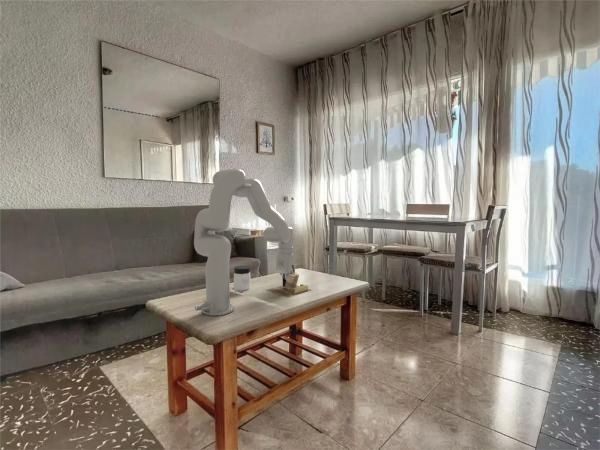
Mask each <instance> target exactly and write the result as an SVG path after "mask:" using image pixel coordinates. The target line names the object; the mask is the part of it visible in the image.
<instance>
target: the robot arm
mask: <svg viewBox="0 0 600 450" xmlns="http://www.w3.org/2000/svg"><path fill="white" fill-rule="evenodd" d="M212 183H213V188H212V189H211V191H210V195H209V203H208V208H203V209H201V210H199V212H198V213H197V215H196V217H195V222H194V233H193V234H194V235H193V237H194V238H193V245H194V246H193V247H194V249H195V252H196V253H197V254H198V255H199V256H200V255H201V256H203V257H207V261H206V263H205V269H204V270H205V271H204V272H205V273H204V274H205V297H206V300H204V301H203V303H202V304H199V305H195V306H194V310H195V312H198V311H201V312H202V313H203V314H204V315H206V316H211V317H212V316H215V317H216V316H224V315H227V314H230V313H232V312H233V311H235V310H234V309H235V306H234V305H233V304H231V293H230V292H231V287H230V285H231V284H230V281H231V280H230V261H231V260H230V259H231V253H232V244H231V242H230V239H229V238H228V237H226V236H223V235H220V234H216V232H217V233H218V232H224V231H226V230H227V229H228V228H229V225H230V220H231V205H232V198H233V196H235V197H238V198H247V201H248V202H249V204H250V207H251V208H252V211H253V213H254V215H255V216H257V217H258V218H259V219H261V220H264V221H265V222H266V223H269V225H270V226H269V227H266V228H264V229H263V231H262V237H263V239H264V240H265V241H266V242H267V243H268V242H269V243H273V244H277V245H278V246H277V247H278V248H277V251H278V252H277V254H276V262H275V271H276V272H277V273H278V274H279V275H280V276H281V279H282V286H283V287H285V283H286V279H287V276H288V274H290V273H295V272H296V261H295V254H294V229H293V227H292V226H288V223H287V222H286V219H285V218H284V217H283V216H282V215H281V214H280V213H279V212H278V211H277V210H276V209H275V208H274V207H273V206H272V204H271V202H270V200H269V197H268V196H267V194H266V191H265V189H264V187H263V184H262V183H261V181H260V180H259V179H257V178H247V175H246V172H245V171H243V170H242V169H240V168H232V169H231V168H230V169H223V170H219V171H217V172H215V173H214V174H213V176H212Z"/></svg>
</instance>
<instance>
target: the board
mask: <svg viewBox="0 0 600 450" xmlns="http://www.w3.org/2000/svg"><path fill="white" fill-rule="evenodd" d="M296 287H300V285H298V284H297V285H296ZM265 291H267V292H269V293H273V294H276V295H278V296H282V297H285V298H291V297H295V296H298V295H301V294H304V293H307V292H310V291H313V289H311V288H308V291H304V292H301V293H297V294H292V293H289V290H288V289H287V288H285V287H283V285H279V286H276V287H272V288H271V287H270V288H268V289H265Z"/></svg>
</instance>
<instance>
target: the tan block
mask: <svg viewBox="0 0 600 450" xmlns="http://www.w3.org/2000/svg"><path fill="white" fill-rule="evenodd" d="M299 277H300V274H299V273H297V272H296V271H295V273H290V274H288V276H287V279H286V283H285V288H287V289H288V290H289V287H294V288H296V285H297V286H298V281H299Z"/></svg>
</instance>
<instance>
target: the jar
mask: <svg viewBox="0 0 600 450" xmlns="http://www.w3.org/2000/svg"><path fill="white" fill-rule="evenodd" d="M251 282H252V281H251V267H250V266H249V265H237V266H234V268H233V292H235V293H241V294H242V293H244V292H243V291H246V290H250V289H251V287H252V286H251V284H252V283H251Z"/></svg>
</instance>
